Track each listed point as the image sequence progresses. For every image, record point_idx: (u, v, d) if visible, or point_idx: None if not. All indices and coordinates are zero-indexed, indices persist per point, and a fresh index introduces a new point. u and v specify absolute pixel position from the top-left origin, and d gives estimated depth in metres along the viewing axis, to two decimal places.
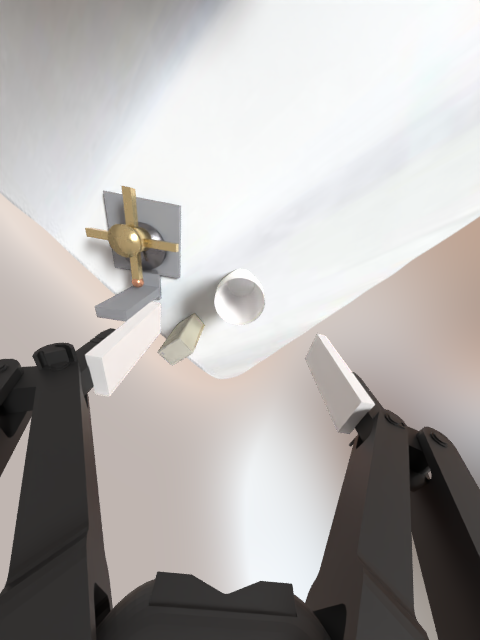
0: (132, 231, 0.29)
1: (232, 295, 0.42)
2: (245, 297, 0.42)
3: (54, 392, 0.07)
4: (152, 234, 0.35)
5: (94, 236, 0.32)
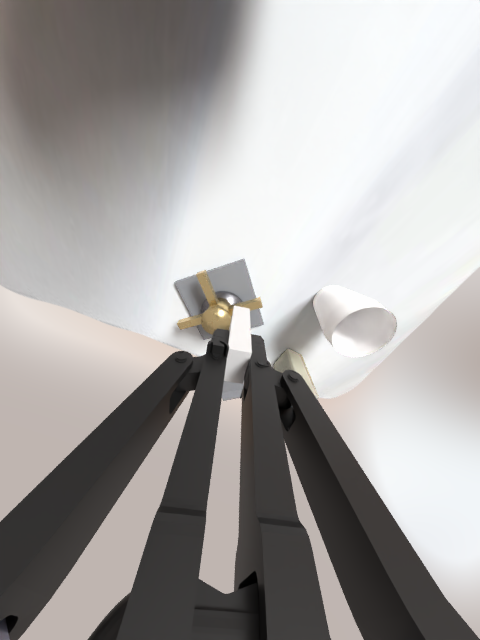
0: (221, 310, 0.29)
1: None
2: None
3: (210, 375, 0.09)
4: (229, 299, 0.34)
5: (186, 327, 0.33)
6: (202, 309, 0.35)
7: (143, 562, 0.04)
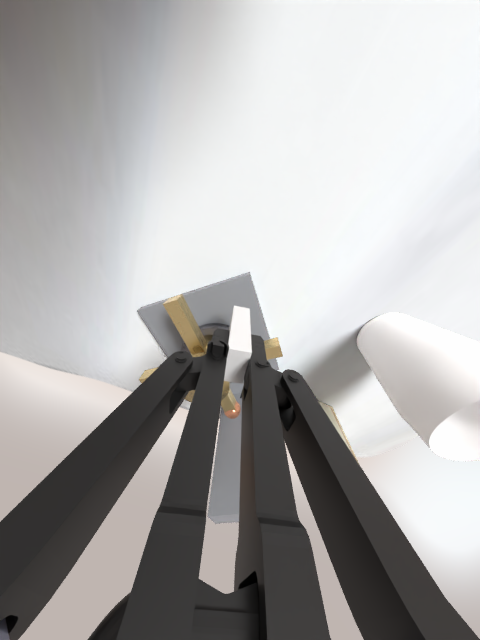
0: None
1: None
2: None
3: (210, 375, 0.09)
4: None
5: None
6: None
7: (143, 562, 0.04)
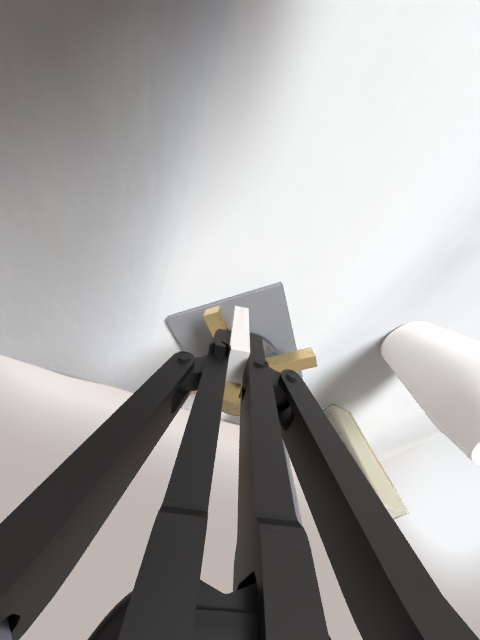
0: None
1: None
2: None
3: (212, 375, 0.09)
4: None
5: None
6: None
7: (145, 562, 0.04)
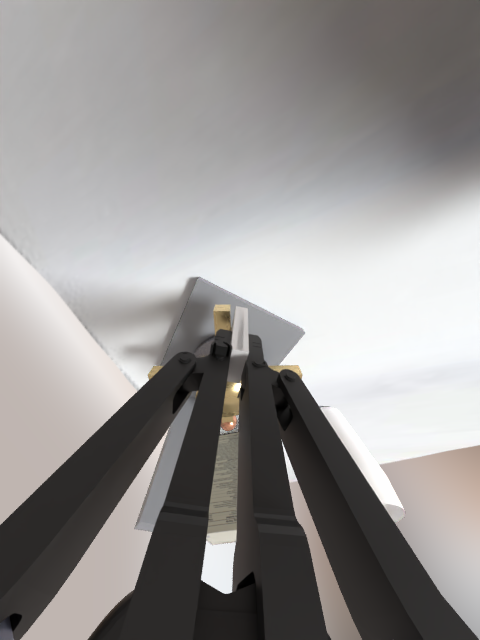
0: None
1: None
2: None
3: (213, 376, 0.09)
4: None
5: None
6: (197, 355, 0.21)
7: (146, 561, 0.04)
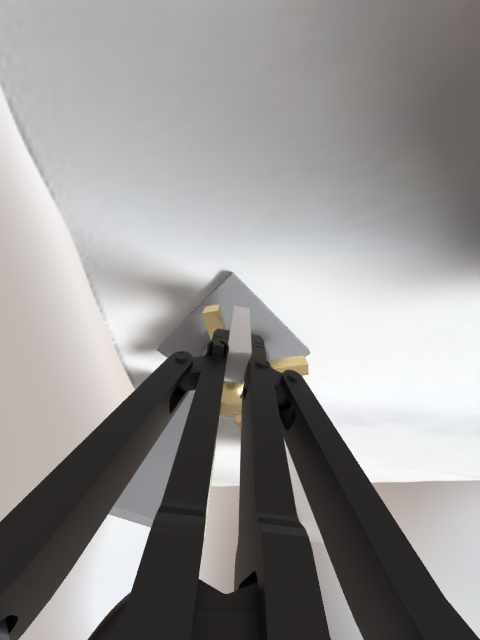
0: None
1: None
2: None
3: (210, 375, 0.09)
4: None
5: None
6: None
7: (143, 562, 0.04)
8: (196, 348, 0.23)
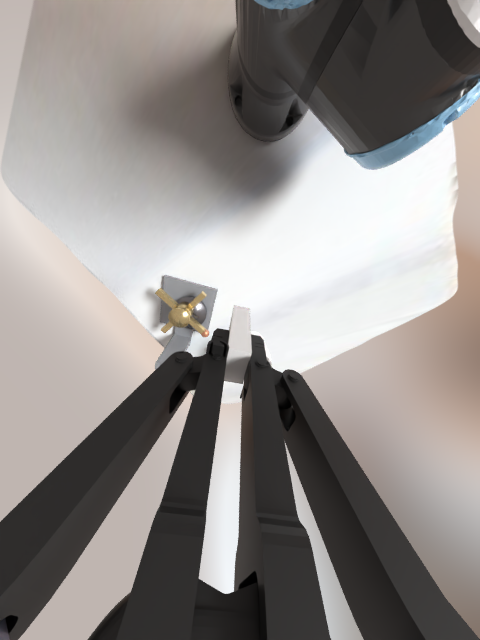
0: (177, 309, 0.42)
1: None
2: None
3: (210, 375, 0.09)
4: (187, 300, 0.47)
5: (167, 329, 0.48)
6: None
7: (143, 562, 0.04)
8: None
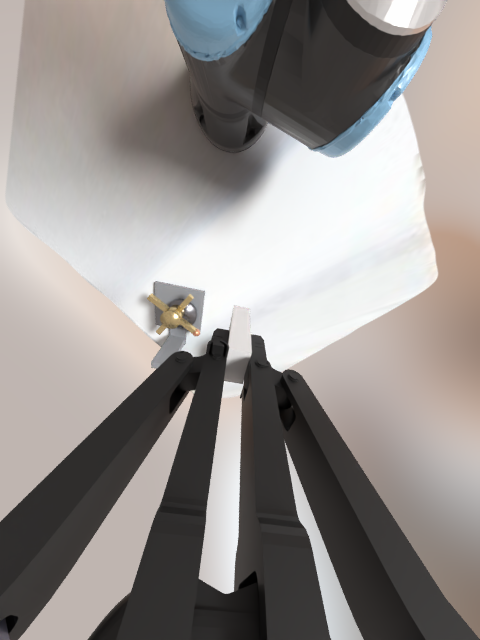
0: (167, 312, 0.46)
1: None
2: None
3: (210, 375, 0.09)
4: (178, 303, 0.51)
5: (161, 331, 0.52)
6: None
7: (143, 562, 0.04)
8: None
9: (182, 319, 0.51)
